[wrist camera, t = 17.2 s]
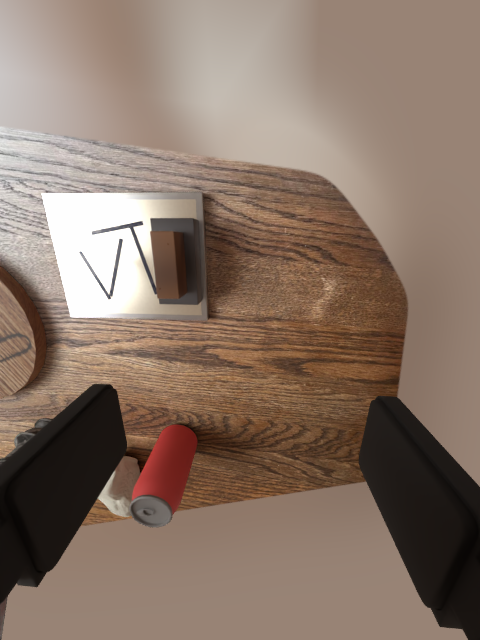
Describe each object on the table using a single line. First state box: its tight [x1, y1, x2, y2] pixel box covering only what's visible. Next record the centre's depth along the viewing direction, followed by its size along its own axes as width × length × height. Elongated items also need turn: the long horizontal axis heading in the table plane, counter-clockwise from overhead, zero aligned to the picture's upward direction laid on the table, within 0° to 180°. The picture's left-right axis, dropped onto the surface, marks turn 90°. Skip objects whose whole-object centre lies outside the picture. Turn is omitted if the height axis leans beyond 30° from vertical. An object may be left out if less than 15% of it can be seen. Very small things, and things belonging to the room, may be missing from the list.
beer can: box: [129, 424, 198, 527], centre depth 35 cm, size 7×7×12 cm
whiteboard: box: [41, 192, 209, 321], centre depth 31 cm, size 20×16×1 cm
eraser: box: [150, 218, 202, 305], centre depth 27 cm, size 10×5×6 cm, turn 0°
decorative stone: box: [98, 456, 140, 517], centre depth 41 cm, size 11×9×10 cm
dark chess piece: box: [0, 418, 52, 465], centre depth 36 cm, size 6×6×12 cm
